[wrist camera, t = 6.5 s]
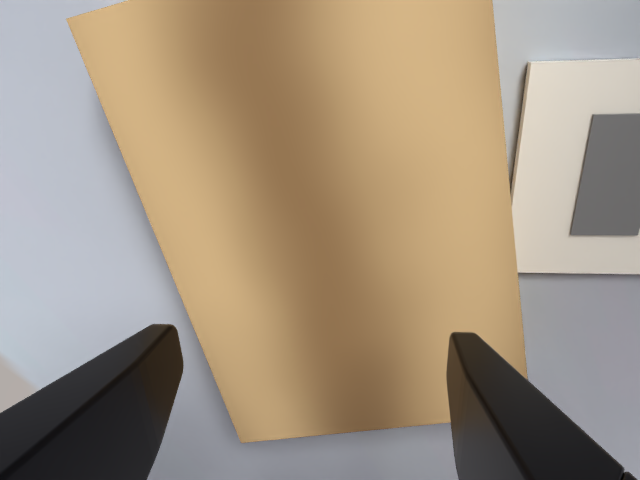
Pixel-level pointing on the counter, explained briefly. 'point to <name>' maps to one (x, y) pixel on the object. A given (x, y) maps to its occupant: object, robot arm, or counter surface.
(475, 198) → the base brick
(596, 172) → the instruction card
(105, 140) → the counter surface
